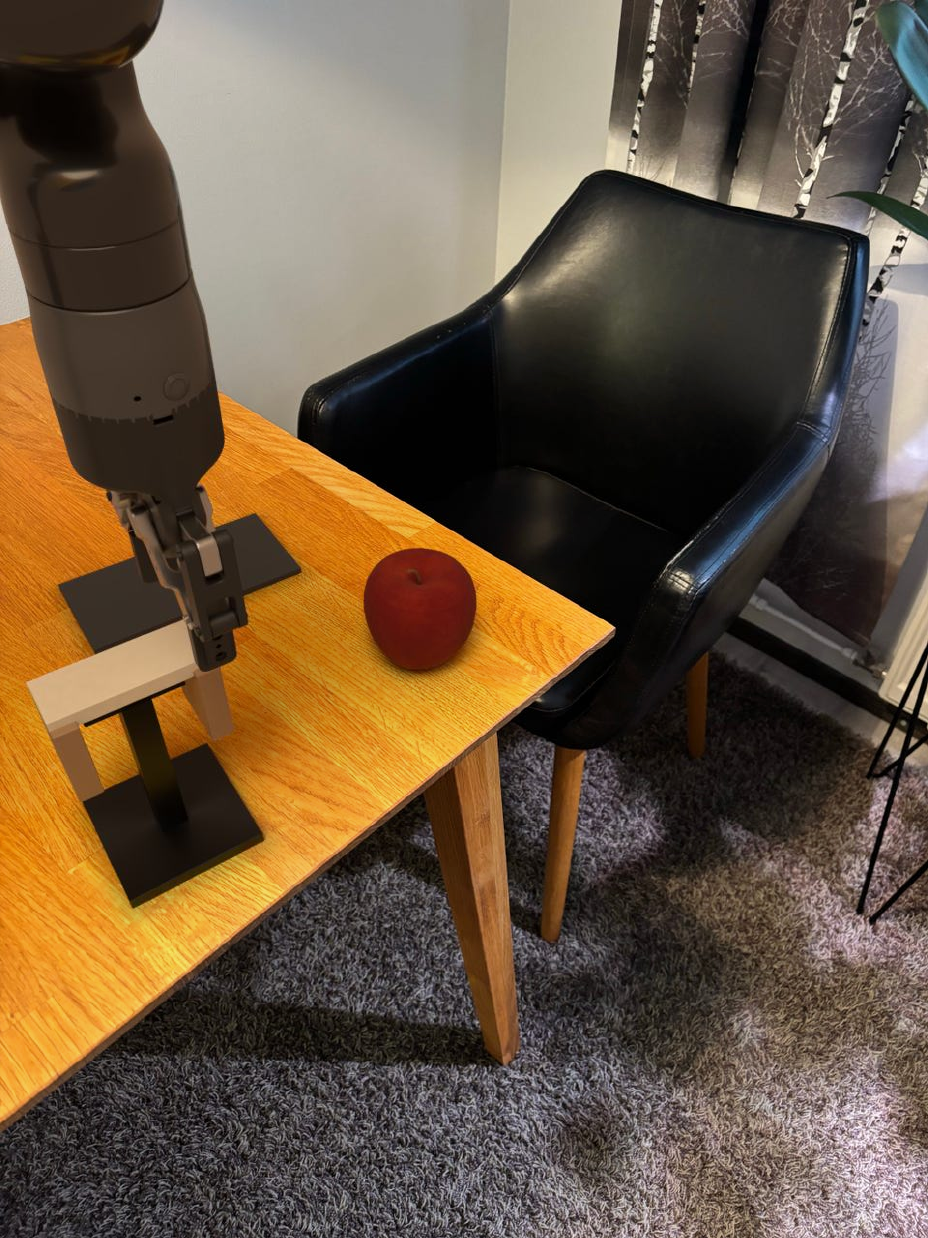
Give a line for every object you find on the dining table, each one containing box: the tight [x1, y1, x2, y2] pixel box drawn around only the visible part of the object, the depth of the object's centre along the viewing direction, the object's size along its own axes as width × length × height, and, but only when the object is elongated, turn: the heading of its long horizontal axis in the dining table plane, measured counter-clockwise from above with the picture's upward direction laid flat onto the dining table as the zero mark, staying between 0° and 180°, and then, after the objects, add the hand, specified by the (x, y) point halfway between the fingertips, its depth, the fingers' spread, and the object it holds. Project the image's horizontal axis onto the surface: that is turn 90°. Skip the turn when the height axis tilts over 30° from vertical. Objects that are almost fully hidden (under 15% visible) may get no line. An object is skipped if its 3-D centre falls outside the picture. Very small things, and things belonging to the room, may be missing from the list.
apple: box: [363, 547, 478, 671], centre depth 82 cm, size 10×10×10 cm
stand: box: [81, 680, 265, 909], centre depth 66 cm, size 10×10×16 cm
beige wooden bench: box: [25, 620, 235, 803], centre depth 63 cm, size 11×5×7 cm, turn 124°
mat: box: [57, 512, 302, 655], centre depth 91 cm, size 20×10×1 cm, turn 124°
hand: (187, 618), depth 56 cm, fingers open, 8 cm apart
